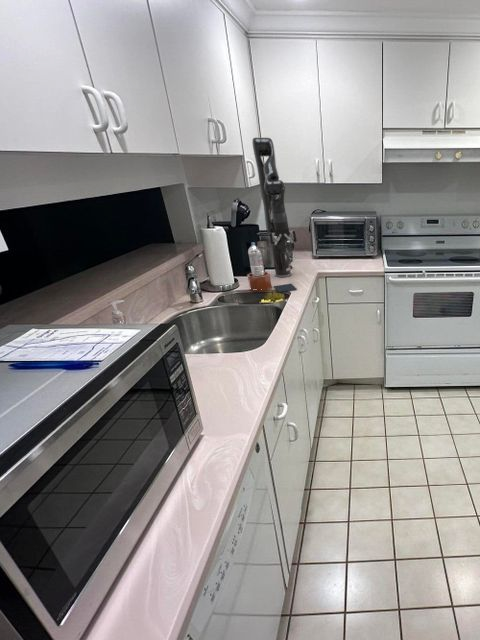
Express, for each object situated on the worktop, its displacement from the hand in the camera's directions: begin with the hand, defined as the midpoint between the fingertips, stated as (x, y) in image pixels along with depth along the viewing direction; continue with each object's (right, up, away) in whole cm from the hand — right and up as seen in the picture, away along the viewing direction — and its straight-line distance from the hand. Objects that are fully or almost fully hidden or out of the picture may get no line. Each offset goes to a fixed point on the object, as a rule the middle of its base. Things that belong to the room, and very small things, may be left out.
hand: (285, 250), depth 217 cm
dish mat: (+1, -22, -4) cm, 23 cm away
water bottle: (-13, -22, -3) cm, 26 cm away
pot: (-13, -22, -3) cm, 26 cm away
